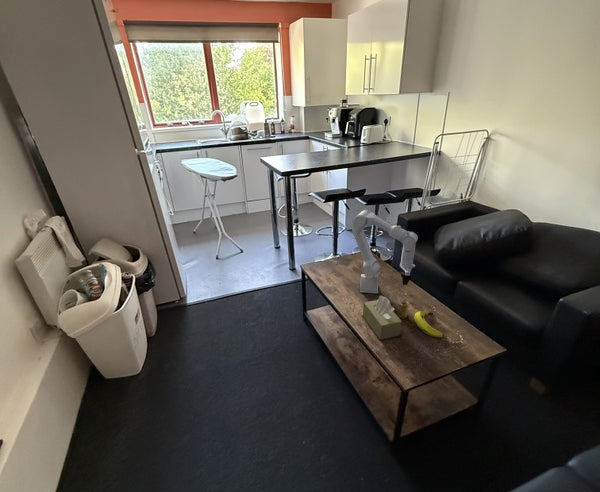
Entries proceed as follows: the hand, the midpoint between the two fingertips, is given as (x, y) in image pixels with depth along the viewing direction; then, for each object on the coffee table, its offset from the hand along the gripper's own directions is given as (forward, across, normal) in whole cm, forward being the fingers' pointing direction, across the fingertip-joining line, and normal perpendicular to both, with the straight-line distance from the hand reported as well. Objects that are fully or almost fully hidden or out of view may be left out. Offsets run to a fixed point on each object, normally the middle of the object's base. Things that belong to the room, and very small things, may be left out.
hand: (404, 280), depth 162 cm
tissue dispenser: (+11, -25, +12) cm, 29 cm away
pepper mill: (+10, -16, +1) cm, 19 cm away
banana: (+11, -22, -11) cm, 27 cm away
